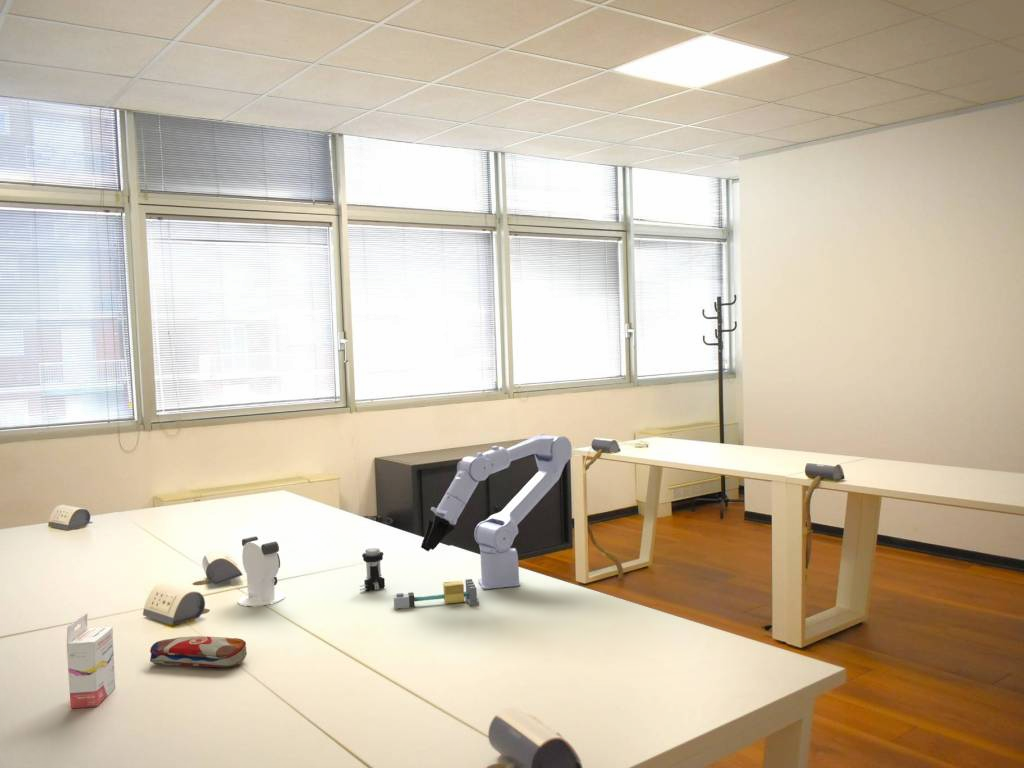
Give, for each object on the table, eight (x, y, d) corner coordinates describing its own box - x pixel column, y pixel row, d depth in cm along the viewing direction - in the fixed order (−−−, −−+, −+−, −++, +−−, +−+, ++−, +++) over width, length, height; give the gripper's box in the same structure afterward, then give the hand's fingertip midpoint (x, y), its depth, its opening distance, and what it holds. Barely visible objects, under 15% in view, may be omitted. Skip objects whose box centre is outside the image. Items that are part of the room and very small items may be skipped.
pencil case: (212, 681, 159) (211, 655, 158) (141, 667, 168) (140, 642, 167) (255, 660, 168) (253, 636, 168) (186, 648, 177) (184, 624, 177)
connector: (408, 604, 200) (408, 591, 200) (409, 607, 198) (408, 594, 197) (394, 605, 200) (393, 592, 199) (394, 609, 197) (393, 595, 197)
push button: (364, 594, 210) (362, 554, 210) (355, 589, 214) (353, 551, 214) (388, 589, 214) (386, 550, 213) (379, 584, 218) (377, 546, 218)
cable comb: (473, 594, 206) (473, 577, 206) (479, 605, 197) (478, 588, 197) (464, 595, 206) (463, 578, 206) (469, 606, 197) (468, 589, 197)
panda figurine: (295, 598, 209) (292, 538, 208) (254, 610, 201) (250, 548, 200) (269, 590, 217) (266, 532, 217) (229, 601, 209) (225, 541, 208)
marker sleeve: (462, 597, 203) (461, 580, 203) (464, 601, 200) (463, 584, 199) (443, 599, 202) (443, 582, 202) (445, 603, 199) (444, 586, 199)
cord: (470, 595, 202) (470, 591, 202) (470, 596, 201) (470, 592, 201) (403, 601, 199) (403, 597, 199) (403, 603, 198) (403, 598, 198)
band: (413, 603, 200) (413, 592, 200) (414, 607, 198) (414, 595, 198) (408, 604, 200) (408, 592, 200) (409, 607, 198) (408, 596, 197)
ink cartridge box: (98, 707, 149) (93, 625, 148) (69, 709, 148) (64, 627, 148) (117, 687, 157) (112, 610, 156) (90, 689, 157) (84, 611, 156)
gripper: (436, 494, 213) (408, 541, 208) (446, 488, 199) (416, 538, 195) (460, 509, 213) (433, 556, 209) (471, 503, 200) (442, 553, 195)
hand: (426, 548), depth 202 cm, fingers open, 7 cm apart
